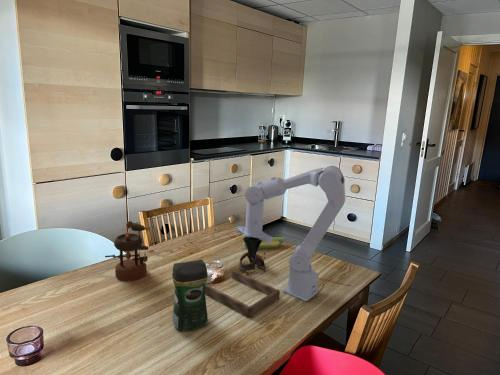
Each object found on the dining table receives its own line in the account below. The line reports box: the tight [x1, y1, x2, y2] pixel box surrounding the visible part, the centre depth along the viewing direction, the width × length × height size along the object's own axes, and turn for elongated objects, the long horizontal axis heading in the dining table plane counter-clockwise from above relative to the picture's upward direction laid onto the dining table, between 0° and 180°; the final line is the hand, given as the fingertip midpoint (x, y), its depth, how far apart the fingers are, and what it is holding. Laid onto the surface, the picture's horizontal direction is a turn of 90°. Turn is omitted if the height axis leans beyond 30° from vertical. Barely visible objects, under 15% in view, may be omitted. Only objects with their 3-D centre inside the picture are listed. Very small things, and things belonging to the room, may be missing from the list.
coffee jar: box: [171, 258, 208, 332], centre depth 101 cm, size 10×8×19 cm
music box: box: [104, 220, 151, 282], centre depth 126 cm, size 15×11×20 cm
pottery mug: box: [239, 251, 267, 273], centre depth 137 cm, size 12×10×8 cm
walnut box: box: [205, 270, 281, 319], centre depth 118 cm, size 20×15×3 cm
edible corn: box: [242, 236, 285, 250], centre depth 158 cm, size 5×20×5 cm
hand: (252, 256), depth 126 cm, fingers closed
